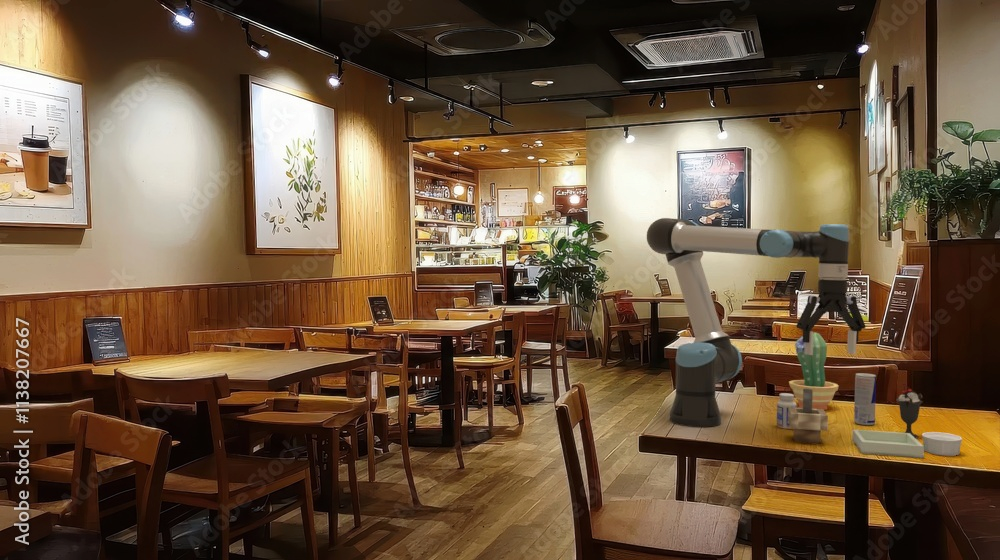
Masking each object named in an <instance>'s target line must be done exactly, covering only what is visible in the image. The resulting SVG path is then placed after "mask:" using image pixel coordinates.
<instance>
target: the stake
mask: <svg viewBox="0 0 1000 560" xmlns="http://www.w3.org/2000/svg"><path fill="white" fill-rule="evenodd" d="M812 400H813V390H812V389H803V413H809V414H812ZM821 432H822V430H807V429H793V441H795V442H797V443H802V444H811V445H812V444H820V443H821V442H822V441H821V440H822V438H821V437H822V436H821V435H822V434H821Z"/></svg>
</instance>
